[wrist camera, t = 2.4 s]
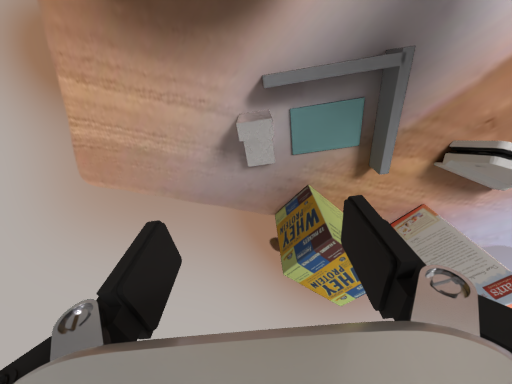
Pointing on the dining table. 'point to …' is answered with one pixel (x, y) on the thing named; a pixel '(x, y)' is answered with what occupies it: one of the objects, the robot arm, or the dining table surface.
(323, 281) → the protein box
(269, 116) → the grey l-shaped block
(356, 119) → the mat
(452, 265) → the cracker box
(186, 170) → the dining table surface
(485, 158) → the white black slab
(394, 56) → the corner walls
